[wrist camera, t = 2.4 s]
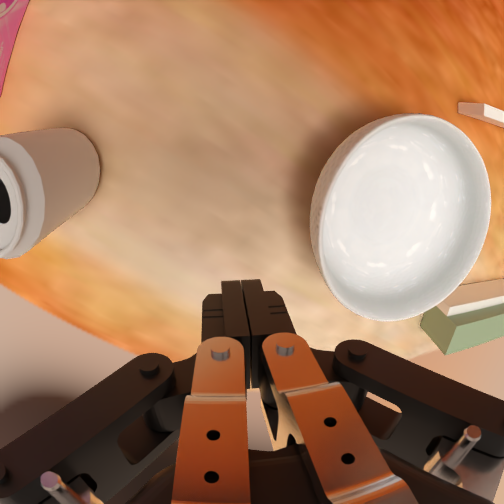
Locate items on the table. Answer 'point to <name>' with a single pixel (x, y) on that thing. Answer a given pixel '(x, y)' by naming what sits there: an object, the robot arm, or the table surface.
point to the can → (42, 184)
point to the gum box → (9, 30)
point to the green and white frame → (469, 288)
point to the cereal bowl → (399, 215)
